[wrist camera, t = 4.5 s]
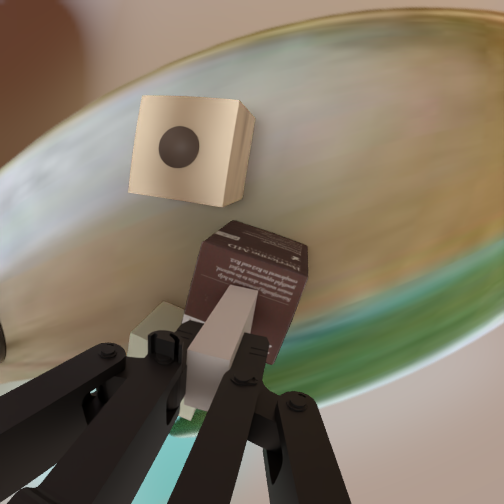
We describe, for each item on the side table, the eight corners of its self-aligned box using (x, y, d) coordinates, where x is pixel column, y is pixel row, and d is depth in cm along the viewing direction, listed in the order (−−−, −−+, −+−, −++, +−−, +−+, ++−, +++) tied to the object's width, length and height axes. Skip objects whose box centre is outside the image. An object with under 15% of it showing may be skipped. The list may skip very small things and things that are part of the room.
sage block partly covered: (152, 352, 28) (121, 390, 22) (163, 300, 26) (129, 333, 20) (211, 378, 27) (191, 423, 21) (230, 328, 25) (210, 370, 20)
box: (309, 245, 23) (312, 277, 16) (282, 315, 24) (273, 368, 17) (231, 218, 23) (200, 238, 16) (210, 289, 25) (176, 332, 18)
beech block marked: (167, 186, 23) (126, 192, 17) (179, 111, 22) (140, 94, 16) (242, 198, 23) (221, 207, 17) (255, 118, 21) (238, 99, 15)
